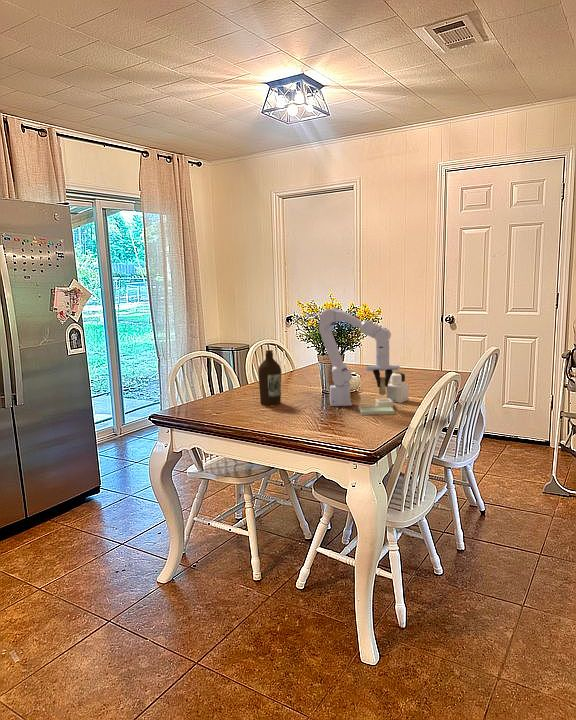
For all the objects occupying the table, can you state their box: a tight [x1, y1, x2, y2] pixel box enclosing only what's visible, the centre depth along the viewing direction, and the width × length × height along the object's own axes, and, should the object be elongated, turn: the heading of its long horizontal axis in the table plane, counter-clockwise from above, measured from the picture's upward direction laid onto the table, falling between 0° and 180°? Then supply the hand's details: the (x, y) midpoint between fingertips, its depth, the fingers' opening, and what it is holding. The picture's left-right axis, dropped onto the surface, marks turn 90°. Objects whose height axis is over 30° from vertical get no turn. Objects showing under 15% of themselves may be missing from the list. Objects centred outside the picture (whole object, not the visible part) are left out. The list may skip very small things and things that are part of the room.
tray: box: [357, 405, 396, 416], centre depth 232 cm, size 14×10×1 cm
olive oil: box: [257, 349, 282, 406], centre depth 248 cm, size 11×11×25 cm
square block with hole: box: [374, 398, 394, 409], centre depth 240 cm, size 7×7×3 cm
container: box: [385, 372, 410, 404], centre depth 250 cm, size 8×8×13 cm
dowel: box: [378, 376, 387, 396], centre depth 237 cm, size 3×3×8 cm
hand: (382, 386), depth 237 cm, fingers closed on dowel, 3 cm apart
